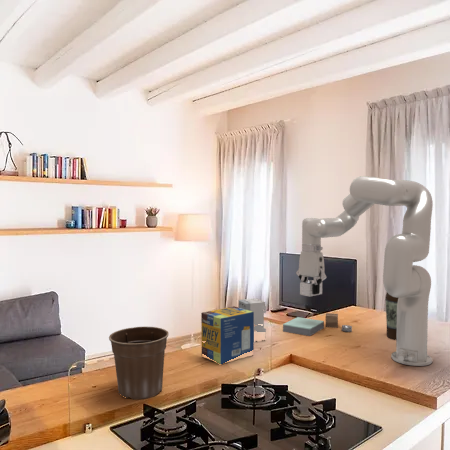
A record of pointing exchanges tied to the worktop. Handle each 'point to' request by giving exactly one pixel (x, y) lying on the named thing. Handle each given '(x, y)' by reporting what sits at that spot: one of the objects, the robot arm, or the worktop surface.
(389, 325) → the printed label canister
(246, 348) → the protein box
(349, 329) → the steel spacer
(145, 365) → the plant pot
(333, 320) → the walnut block
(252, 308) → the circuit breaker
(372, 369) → the worktop surface
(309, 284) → the block
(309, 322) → the stand
